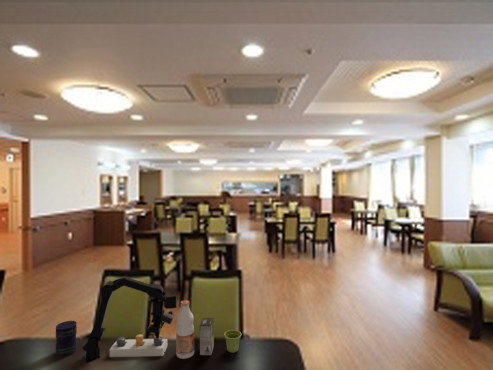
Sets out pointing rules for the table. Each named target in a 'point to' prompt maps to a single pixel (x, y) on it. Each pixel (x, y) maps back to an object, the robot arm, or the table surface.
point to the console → (138, 348)
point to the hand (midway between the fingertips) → (157, 337)
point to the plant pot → (232, 340)
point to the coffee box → (206, 336)
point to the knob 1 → (120, 342)
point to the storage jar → (66, 338)
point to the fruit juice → (184, 332)
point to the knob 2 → (157, 341)
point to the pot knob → (139, 340)
